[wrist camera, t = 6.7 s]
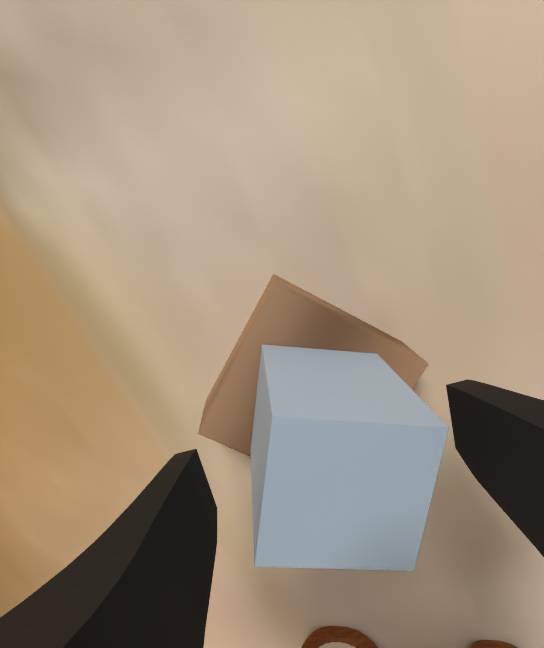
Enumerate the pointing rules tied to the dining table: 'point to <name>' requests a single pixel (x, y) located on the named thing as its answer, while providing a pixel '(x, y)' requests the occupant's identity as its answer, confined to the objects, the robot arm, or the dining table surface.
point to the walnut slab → (293, 331)
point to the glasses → (367, 639)
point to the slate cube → (340, 462)
